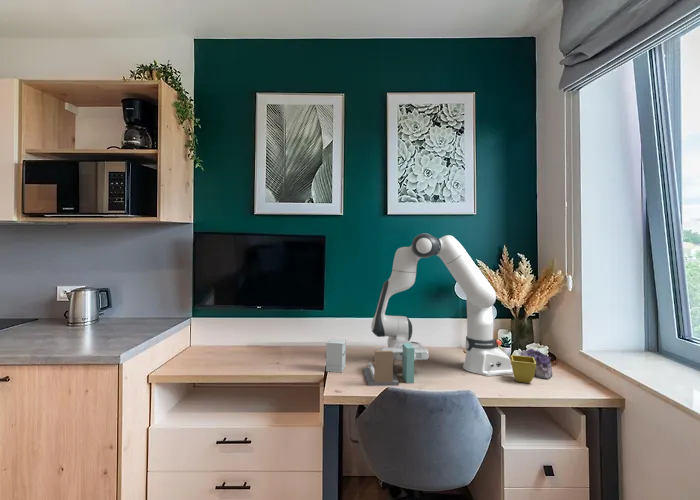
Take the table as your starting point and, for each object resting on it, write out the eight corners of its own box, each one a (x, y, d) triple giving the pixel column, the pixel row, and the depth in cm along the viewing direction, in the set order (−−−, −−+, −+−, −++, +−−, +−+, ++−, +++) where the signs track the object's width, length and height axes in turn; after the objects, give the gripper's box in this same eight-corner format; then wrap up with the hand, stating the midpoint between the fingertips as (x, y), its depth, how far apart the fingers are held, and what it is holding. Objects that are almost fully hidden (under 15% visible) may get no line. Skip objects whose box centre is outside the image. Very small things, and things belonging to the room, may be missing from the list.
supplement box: (342, 373, 166) (342, 343, 166) (325, 371, 168) (325, 342, 167) (345, 367, 173) (346, 339, 173) (329, 366, 175) (330, 338, 175)
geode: (564, 380, 160) (561, 357, 160) (535, 383, 161) (532, 360, 160) (542, 363, 180) (540, 342, 180) (517, 366, 181) (514, 345, 181)
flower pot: (535, 385, 153) (536, 363, 153) (512, 383, 156) (512, 360, 156) (533, 378, 162) (533, 357, 162) (510, 376, 165) (510, 354, 164)
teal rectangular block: (409, 376, 163) (410, 343, 163) (414, 383, 155) (414, 348, 155) (402, 376, 162) (402, 343, 162) (406, 383, 155) (406, 348, 154)
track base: (390, 370, 170) (391, 340, 170) (398, 385, 152) (399, 351, 152) (363, 370, 169) (363, 340, 169) (368, 385, 151) (368, 352, 151)
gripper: (378, 343, 172) (383, 351, 158) (423, 342, 173) (432, 351, 159) (378, 357, 172) (382, 367, 158) (423, 356, 173) (432, 366, 159)
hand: (408, 359), depth 159 cm, fingers closed on teal rectangular block, 3 cm apart
